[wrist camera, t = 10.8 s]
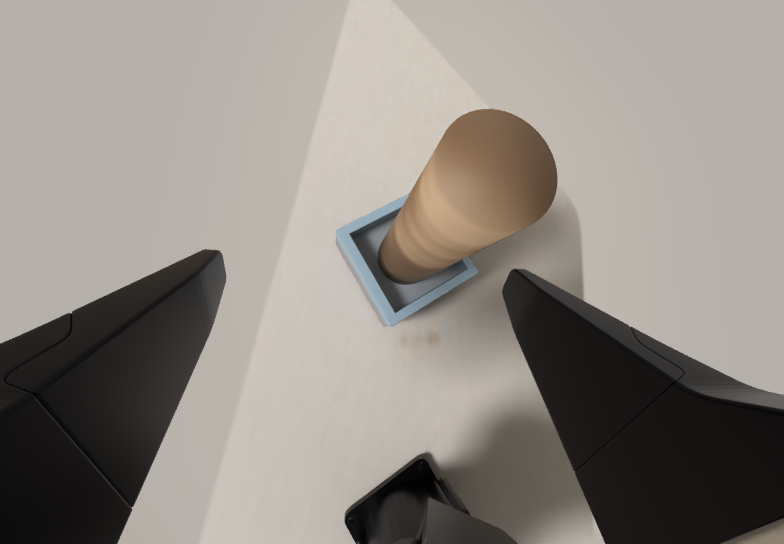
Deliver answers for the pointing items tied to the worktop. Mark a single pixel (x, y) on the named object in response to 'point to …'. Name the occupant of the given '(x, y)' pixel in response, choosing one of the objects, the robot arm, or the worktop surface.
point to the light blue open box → (383, 294)
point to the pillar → (470, 195)
